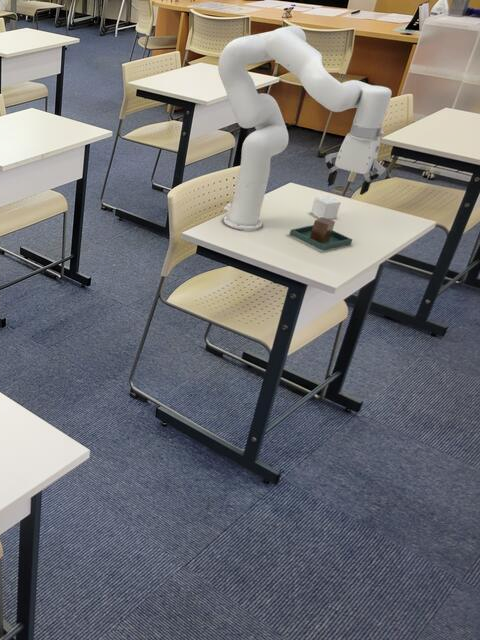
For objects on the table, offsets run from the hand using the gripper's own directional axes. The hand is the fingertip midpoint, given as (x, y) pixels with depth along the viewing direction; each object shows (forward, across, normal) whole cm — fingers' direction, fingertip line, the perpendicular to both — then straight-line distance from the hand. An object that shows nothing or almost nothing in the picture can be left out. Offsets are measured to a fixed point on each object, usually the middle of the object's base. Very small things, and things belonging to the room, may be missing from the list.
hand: (346, 189), depth 210 cm
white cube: (+20, +13, -29) cm, 38 cm away
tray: (+20, +5, -6) cm, 22 cm away
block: (+20, +5, -6) cm, 21 cm away
